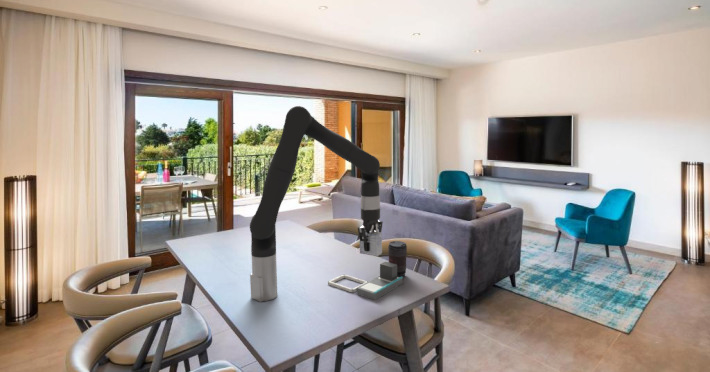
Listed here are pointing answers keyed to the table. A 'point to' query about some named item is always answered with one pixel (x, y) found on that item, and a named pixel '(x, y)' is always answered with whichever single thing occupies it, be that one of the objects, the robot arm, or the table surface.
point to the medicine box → (373, 244)
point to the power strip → (381, 282)
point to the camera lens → (398, 256)
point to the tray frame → (344, 286)
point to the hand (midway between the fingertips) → (370, 249)
